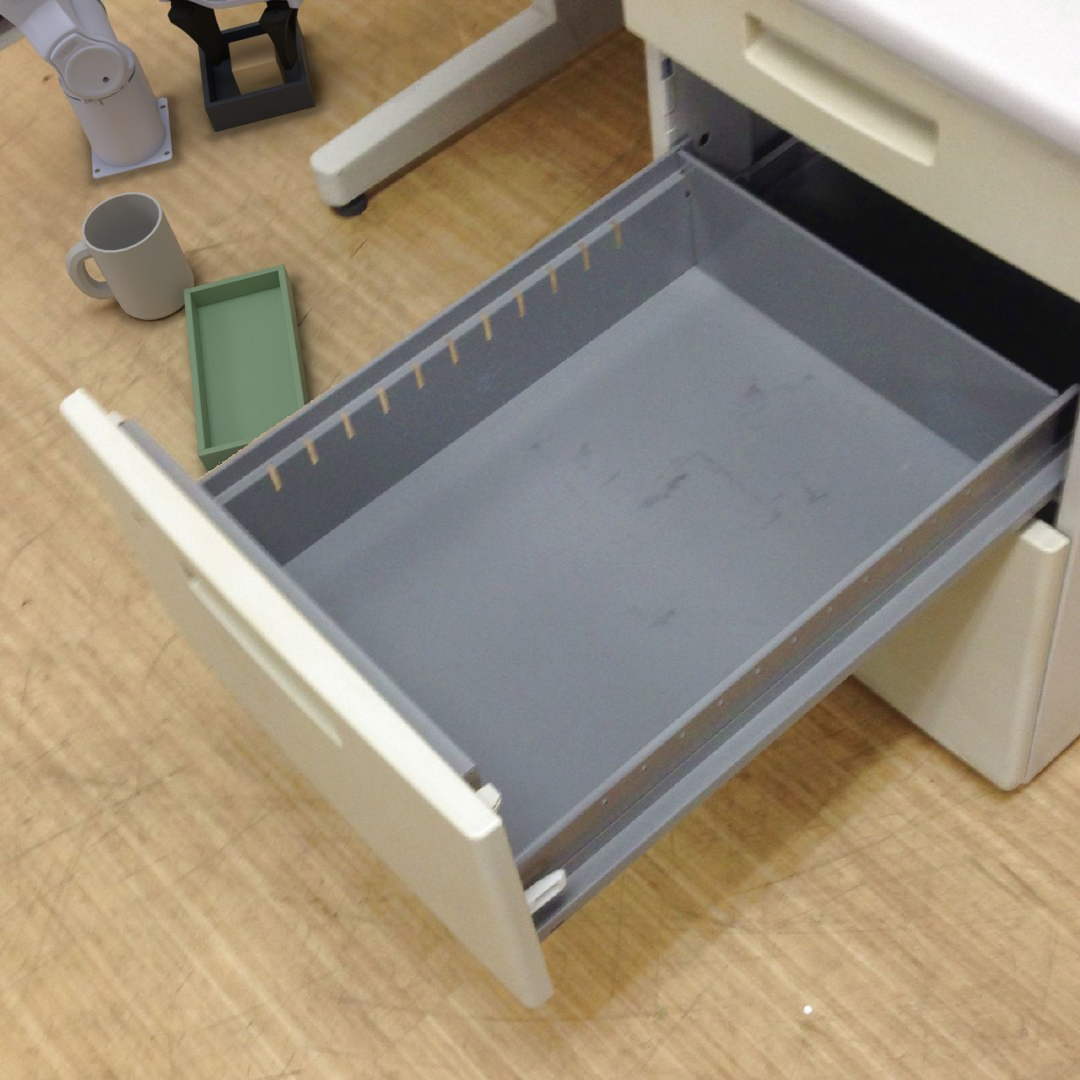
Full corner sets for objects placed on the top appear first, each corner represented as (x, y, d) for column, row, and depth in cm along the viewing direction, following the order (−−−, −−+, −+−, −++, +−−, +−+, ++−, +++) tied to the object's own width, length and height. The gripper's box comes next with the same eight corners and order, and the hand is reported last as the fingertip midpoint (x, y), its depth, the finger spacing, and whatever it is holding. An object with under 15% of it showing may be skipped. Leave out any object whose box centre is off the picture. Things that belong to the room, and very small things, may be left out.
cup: (201, 308, 136) (166, 237, 129) (94, 340, 136) (53, 272, 129) (191, 253, 140) (157, 182, 133) (87, 285, 140) (47, 215, 133)
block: (242, 79, 152) (228, 43, 149) (284, 68, 152) (271, 31, 149) (246, 107, 150) (231, 71, 146) (289, 96, 150) (276, 59, 146)
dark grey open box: (207, 64, 155) (196, 36, 152) (304, 40, 155) (294, 11, 152) (216, 135, 149) (204, 108, 146) (317, 110, 149) (307, 81, 146)
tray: (192, 308, 136) (183, 289, 134) (291, 283, 136) (283, 263, 134) (208, 474, 126) (198, 456, 124) (316, 446, 126) (307, 428, 123)
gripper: (298, -86, 137) (337, 37, 149) (155, -90, 141) (203, 30, 152) (272, -36, 134) (313, 86, 145) (126, -42, 138) (177, 77, 149)
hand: (255, 61), depth 148 cm, fingers open, 7 cm apart
